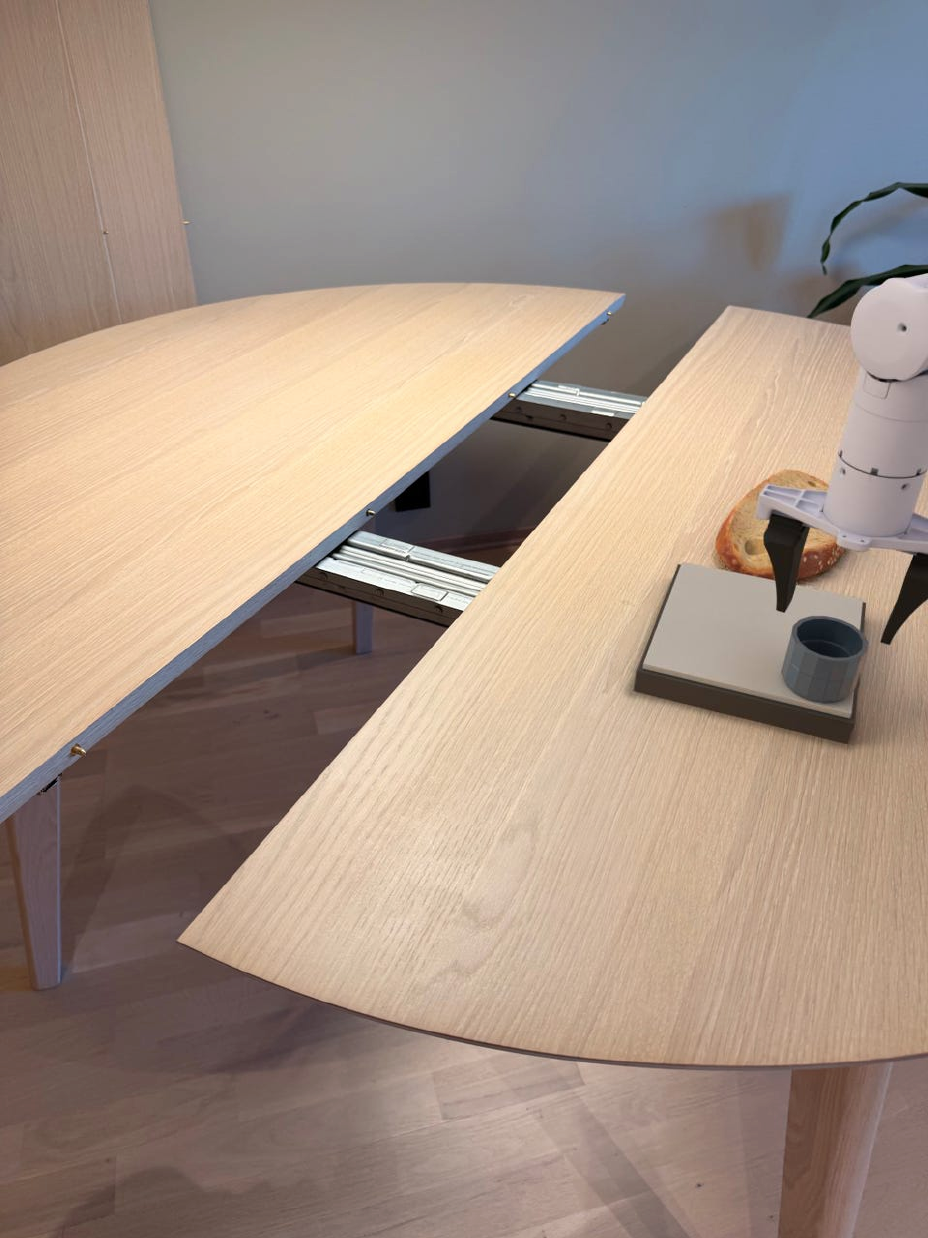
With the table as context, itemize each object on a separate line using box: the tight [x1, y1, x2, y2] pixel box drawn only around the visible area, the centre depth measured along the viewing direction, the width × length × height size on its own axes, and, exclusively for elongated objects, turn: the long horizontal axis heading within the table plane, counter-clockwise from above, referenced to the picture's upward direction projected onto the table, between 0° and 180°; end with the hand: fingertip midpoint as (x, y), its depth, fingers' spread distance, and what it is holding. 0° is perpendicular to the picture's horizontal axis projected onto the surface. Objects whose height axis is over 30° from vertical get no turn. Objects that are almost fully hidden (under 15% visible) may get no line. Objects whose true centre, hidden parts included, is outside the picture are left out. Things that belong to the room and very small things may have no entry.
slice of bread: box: [715, 469, 847, 581], centre depth 98 cm, size 18×18×4 cm
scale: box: [633, 561, 867, 745], centre depth 82 cm, size 17×17×3 cm
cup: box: [781, 616, 869, 703], centre depth 74 cm, size 6×6×4 cm
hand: (834, 620), depth 71 cm, fingers open, 7 cm apart
